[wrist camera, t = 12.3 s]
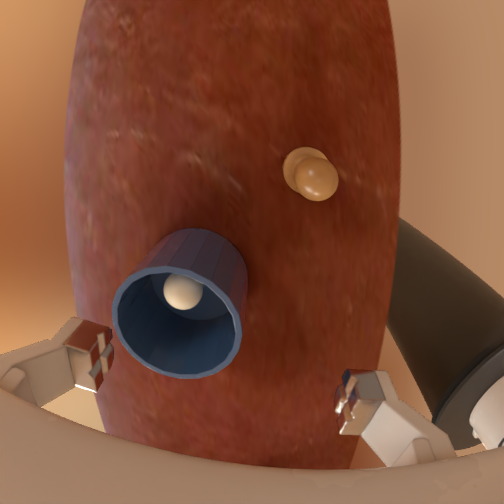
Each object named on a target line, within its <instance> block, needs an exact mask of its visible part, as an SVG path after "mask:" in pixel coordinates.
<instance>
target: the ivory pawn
mask: <svg viewBox="0 0 504 504" xmlns="http://www.w3.org/2000/svg"><path fill="white" fill-rule="evenodd" d="M203 285H204V284H202V283H201V282H199V281H197V280H195V279H193V278H191V277H189V276H184V275H179V274H174V273H172V274H171V275H169V277H168V278H167V279H166V281H165V283H164V296H165V298H166V300H167V302H168V303H169V304H170V305H171V306H173V307H174V308H177V309H181V310H186V309H190V308H192V307H194V306H195V305H197V304H198V302H199V301H200V299H201V297H202V293H203Z"/></svg>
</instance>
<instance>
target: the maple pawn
mask: <svg viewBox="0 0 504 504" xmlns="http://www.w3.org/2000/svg"><path fill="white" fill-rule="evenodd" d="M283 175H284V178H285V181H286V182H287V184H288V185H289V187H290V188H292V189H293V190H294V191H296V192H298V193H300V194H301V195H302V196H304V197H305V198H307V199H309V200H312V201H322V200H325V199H327V198H329V197H330V196H332V195H333V193H334V192H335V191H336V189H337V186H338V173H337V171H336V169H335V167H334V166H333V165H332V164H331V163H330V162H329V161H328V159H327V158H326V156H325V155H324V154H323V153H322V152H320V151H319V150H317V149H314V148H311V147H300V148H297V149H295V150H293V151H291V152H290V153H289V154H288V155H287V157H286V158H285V160H284V163H283Z"/></svg>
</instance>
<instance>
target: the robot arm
mask: <svg viewBox="0 0 504 504" xmlns="http://www.w3.org/2000/svg"><path fill="white" fill-rule="evenodd" d="M112 338H113V337H112V329H111V328H110V327H107V326H103V325H100V324H97V323H94V322H90V321H87V320H83V319H80V318H77V317H71V318H70V319H69V320H68V322H67V323H66V324H65V325H64V326H63V327H62V328H61V329H60V330H59V332H58V333H57V334H56V335H55V336H54V337H53V338H52V339H51V340H48V339H46V340H43V341H40V342H37V343H34V344H31V345H28V346H25V347H22V348H19V349H16V350H13V351H10V352H7V353H4V354H1V355H0V504H504V376H503V377H502V378H500V379H499V380H498V381H497V382H496V383H494V384H493V385H492V386H491V387H490V388H489V389H488V390H487V391H486V392H485V394H484V395H483V396H482V397H481V398H480V400H479V401H478V402H477V404H476V405H475V407H474V409H473V411H472V413H471V415H470V420H469V421H470V425H471V426H472V427H473V433H472V434H473V436H474V437H475V438H479V439H480V440H481V442H482V443H483V445H484V446H485V448H486V449H487V451H483V452H479V453H475V454H470V455H466V456H461V457H457V455H456V453H455V450H454V448H453V446H452V444H451V441H450V439H449V437H448V435H447V434H446V433H445V432H443V431H442V430H441V429H439V428H438V427H437V426H435V425H434V424H433V423H432V422H430V421H429V420H427V419H426V418H425V417H424V416H422V415H421V414H420V413H418V412H417V411H416V410H415V409H413V408H412V407H411V406H409V405H408V404H407V403H406V402H404V401H400V400H399V397H398V395H397V393H396V390H395V388H394V386H393V383H392V381H391V379H390V376H389V374H388V372H387V371H385V370H358V369H346V370H345V372H344V374H343V376H342V380H343V383H342V384H340V385H339V386H338V387H337V389H336V392H335V395H334V410H335V412H336V413H337V414H338V415H339V416H338V418H337V420H336V421H337V426H338V431H339V434H341V435H362V437H363V439H364V440H365V441H366V442H367V444H368V445H369V446H370V447H371V448H372V449H373V450H374V452H375V453H376V454H377V455H378V456H379V457H380V459H381V460H382V461H383V462H384V463H385V464H386V465H387V467H384V468H369V469H343V470H317V469H290V468H276V467H264V466H254V465H245V464H238V463H230V462H223V461H217V460H211V459H205V458H200V457H195V456H190V455H185V454H180V453H176V452H171V451H167V450H163V449H159V448H155V447H151V446H147V445H143V444H140V443H136V442H133V441H129V440H126V439H123V438H119V437H116V436H113V435H110V434H107V433H104V432H101V431H98V430H95V429H92V428H90V427H87V426H84V425H81V424H79V423H76V422H73V421H71V420H69V419H66V418H64V417H61V416H59V415H57V414H54V413H52V412H50V411H47V410H45V409H43V408H41V407H42V406H43V405H45V404H47V403H48V402H50V401H52V400H54V399H55V398H57V397H59V396H60V395H62V394H64V393H66V392H67V391H69V390H71V389H73V388H74V387H75V386H78V387H80V388H83V389H87V390H90V391H93V392H97V391H98V389H99V387H100V385H101V384H102V382H103V374H105V373H107V372H109V370H110V368H111V366H112V363H113V359H114V347H113V346H112V345H111V343H110V341H111V339H112Z"/></svg>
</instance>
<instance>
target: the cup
mask: <svg viewBox="0 0 504 504" xmlns="http://www.w3.org/2000/svg"><path fill="white" fill-rule="evenodd" d="M172 273H174V274H179V275H184V276H189V277H191V278H193V279H195V280H197V281H199V282H201V283H202V284H204V285H203V293H202V297H201V299H200V301H199V302H198V304H197V305H195V306H194V307H192V308H190V309H186V310H181V309H177V308H174V307H173V306H171V305H170V304H169V303H168V302H167V300H166V298H165V296H164V283H165V281H166V279H167V278H168V277H169V275H171V274H172ZM247 290H248V273H247V268H246V265H245V262H244V260H243V258H242V256H241V254H240V253H239V251H238V250H237V249H236V247H235V246H234V245H233V244H232V243H231V242H229V241H228V240H227V239H225V238H224V237H223V236H221V235H219V234H217V233H215V232H212V231H209V230H205V229H199V228H187V229H181V230H178V231H175V232H173V233H170V234H169V235H167V236H166V237H164V238H163V239H162V240H161V241H160V242H159V243H158V244H157V245H156V246H155V247H154V248H153V249H152V250H151V251H150V253H149V254H148V255H147V256H146V257H145V258H144V259H143V260H142V261H141V263H140V264H139V265H138V266H137V267H136V268H135V269H134V270H133V272H132V273H131V274H130V275H129V276H128V277H127V278H126V280H125V281H124V282H123V283H122V284H121V285H120V287H119V288H118V289H117V291H116V294H115V297H114V300H113V303H112V319H113V325H114V327H115V330H116V333H117V335H118V338H119V340H120V341H121V343H122V344H123V345H124V347H125V348H126V349H127V351H128V352H129V353H130V354H131V355H132V356H133V357H134V358H136V359H137V360H138V361H139V362H140V363H142V364H143V365H144V366H146V367H148V368H150V369H152V370H154V371H156V372H158V373H160V374H162V375H166V376H171V377H175V378H180V379H194V378H202V377H205V376H209V375H212V374H215V373H217V372H219V371H220V370H222V369H223V368H224V367H226V366H227V365H229V364H230V363H231V361H232V360H233V359H234V357H235V356H236V354H237V353H238V351H239V349H240V344H241V339H242V334H243V326H244V317H245V308H246V299H247Z"/></svg>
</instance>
